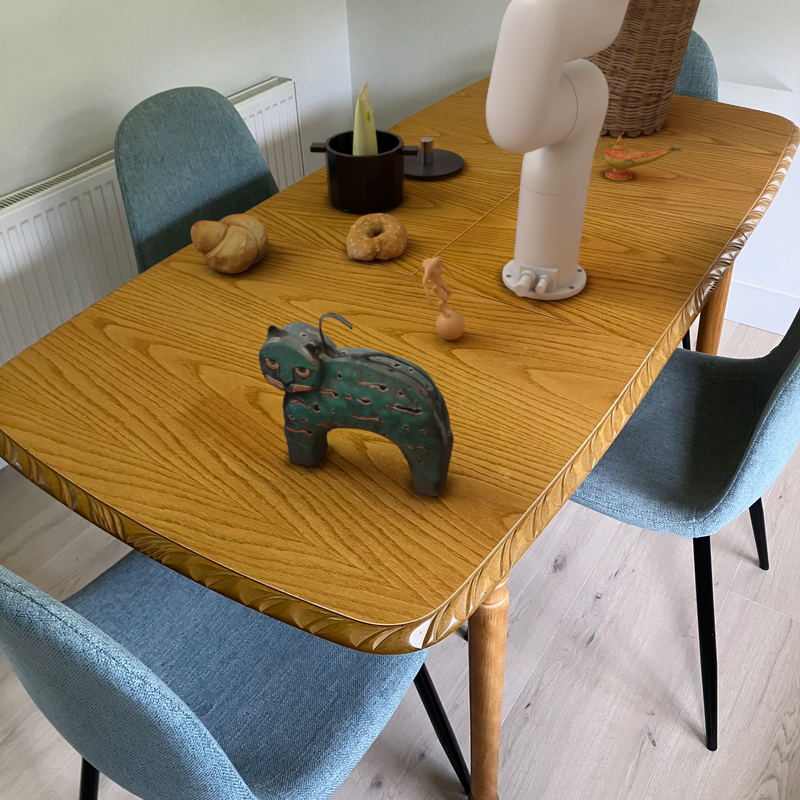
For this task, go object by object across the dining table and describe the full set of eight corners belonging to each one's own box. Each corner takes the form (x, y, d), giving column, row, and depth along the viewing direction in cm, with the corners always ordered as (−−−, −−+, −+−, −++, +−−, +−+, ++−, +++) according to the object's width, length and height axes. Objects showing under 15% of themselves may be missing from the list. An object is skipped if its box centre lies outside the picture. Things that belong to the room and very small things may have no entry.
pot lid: (461, 183, 147) (462, 154, 144) (384, 180, 149) (383, 151, 145) (466, 154, 159) (467, 127, 155) (395, 152, 160) (394, 125, 157)
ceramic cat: (271, 465, 86) (246, 312, 73) (297, 430, 90) (278, 280, 78) (440, 510, 80) (443, 352, 68) (458, 470, 85) (465, 315, 72)
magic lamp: (671, 191, 143) (684, 131, 136) (576, 175, 149) (584, 118, 142) (678, 177, 147) (691, 119, 141) (586, 163, 154) (594, 107, 147)
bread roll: (244, 237, 130) (237, 192, 125) (289, 250, 126) (284, 204, 121) (191, 269, 122) (181, 222, 117) (238, 284, 118) (230, 236, 113)
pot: (413, 216, 136) (413, 158, 129) (307, 212, 138) (302, 154, 131) (422, 185, 146) (422, 130, 140) (323, 182, 149) (319, 127, 142)
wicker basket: (717, 148, 159) (761, -34, 138) (547, 150, 160) (566, -31, 139) (672, 96, 186) (703, -62, 166) (527, 98, 187) (541, -59, 167)
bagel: (331, 252, 126) (329, 225, 123) (377, 229, 132) (377, 203, 129) (374, 271, 120) (373, 244, 117) (421, 247, 127) (421, 220, 124)
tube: (387, 197, 141) (384, 87, 129) (364, 204, 139) (359, 93, 127) (371, 188, 145) (366, 79, 133) (348, 194, 143) (341, 85, 130)
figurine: (453, 356, 102) (456, 276, 94) (411, 347, 104) (410, 268, 96) (473, 324, 108) (476, 247, 100) (433, 316, 110) (433, 239, 102)
